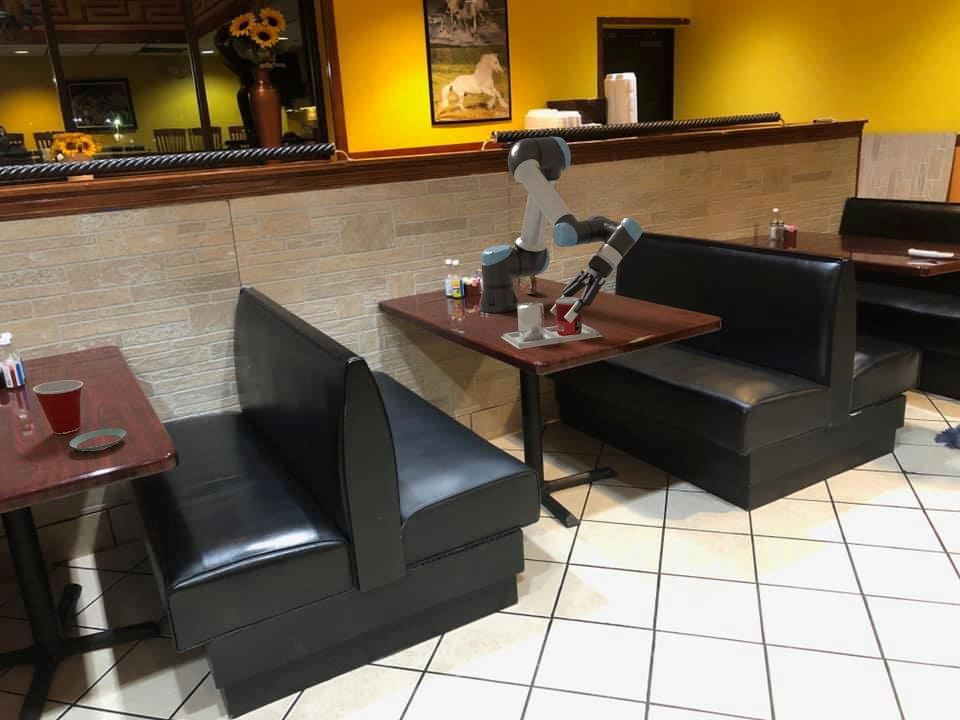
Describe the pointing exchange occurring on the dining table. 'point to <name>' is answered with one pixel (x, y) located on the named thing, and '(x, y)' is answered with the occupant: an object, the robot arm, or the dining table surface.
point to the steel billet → (531, 321)
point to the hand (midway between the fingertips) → (560, 316)
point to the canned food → (561, 310)
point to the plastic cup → (61, 403)
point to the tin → (527, 284)
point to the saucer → (93, 434)
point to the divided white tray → (550, 337)
